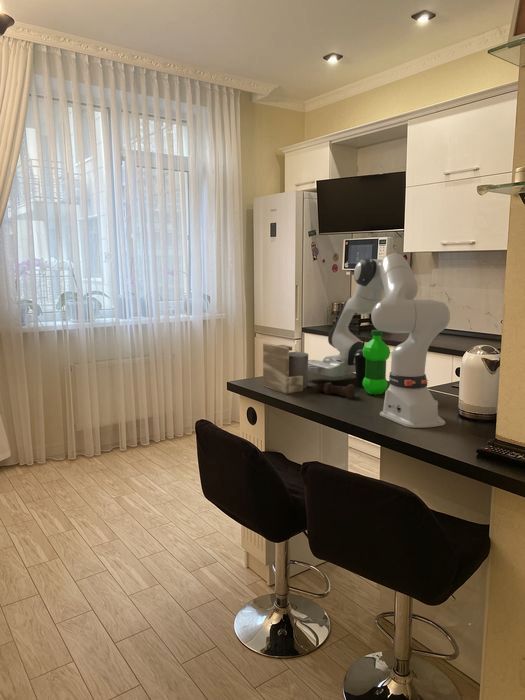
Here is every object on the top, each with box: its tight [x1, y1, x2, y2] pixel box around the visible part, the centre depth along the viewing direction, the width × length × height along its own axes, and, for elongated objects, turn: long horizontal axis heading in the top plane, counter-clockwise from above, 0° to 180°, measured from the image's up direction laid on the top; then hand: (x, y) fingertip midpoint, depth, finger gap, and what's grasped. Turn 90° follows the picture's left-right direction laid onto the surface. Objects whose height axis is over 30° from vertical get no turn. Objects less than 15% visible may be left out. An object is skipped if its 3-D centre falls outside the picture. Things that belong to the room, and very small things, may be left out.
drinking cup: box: [354, 338, 366, 388], centre depth 222 cm, size 8×8×20 cm
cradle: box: [262, 342, 304, 395], centre depth 218 cm, size 9×16×18 cm, turn 33°
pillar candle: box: [289, 350, 309, 389], centre depth 222 cm, size 10×10×15 cm
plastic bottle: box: [363, 329, 391, 396], centre depth 210 cm, size 10×10×25 cm
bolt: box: [316, 382, 356, 399], centre depth 209 cm, size 6×5×15 cm
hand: (305, 369), depth 225 cm, fingers closed, pressing on pillar candle
